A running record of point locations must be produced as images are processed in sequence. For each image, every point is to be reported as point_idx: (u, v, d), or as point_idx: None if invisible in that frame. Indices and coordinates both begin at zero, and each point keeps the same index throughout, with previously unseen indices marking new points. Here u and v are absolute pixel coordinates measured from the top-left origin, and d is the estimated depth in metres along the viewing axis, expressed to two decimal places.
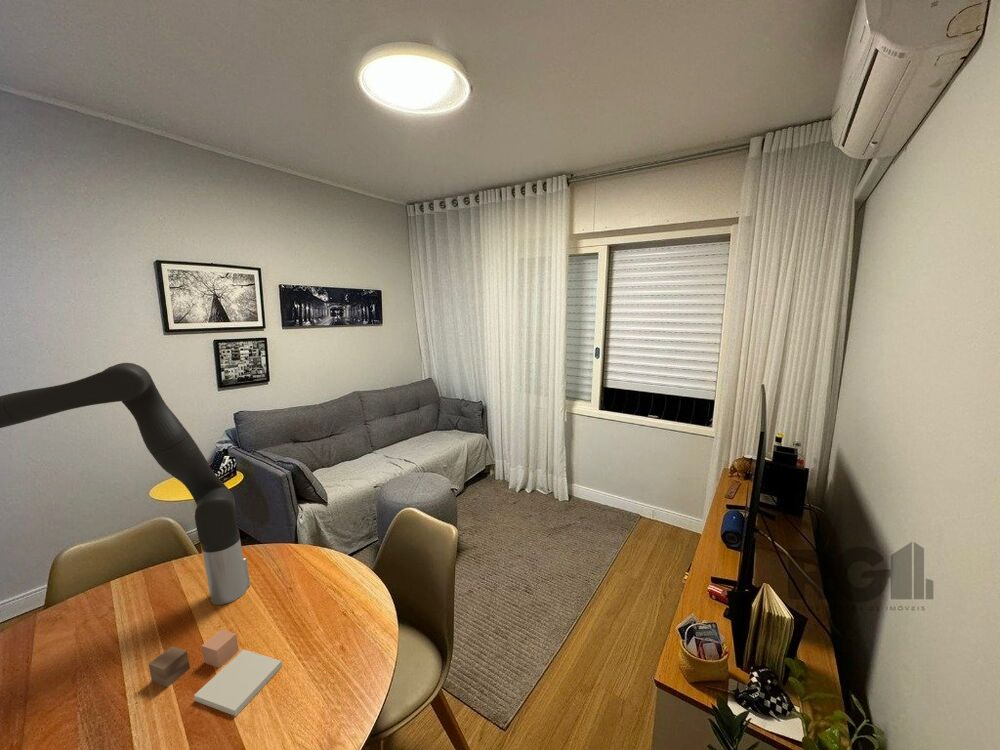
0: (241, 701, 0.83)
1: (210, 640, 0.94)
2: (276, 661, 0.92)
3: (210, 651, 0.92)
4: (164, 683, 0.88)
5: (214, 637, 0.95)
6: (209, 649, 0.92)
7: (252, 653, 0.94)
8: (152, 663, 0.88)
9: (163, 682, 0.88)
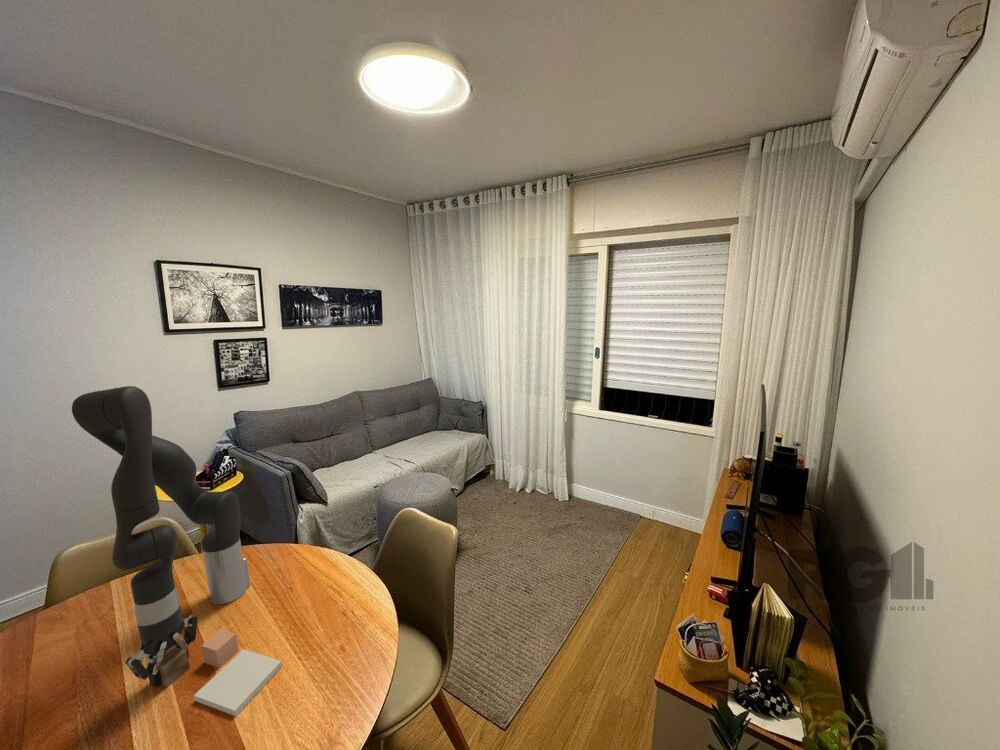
0: (241, 701, 0.83)
1: (210, 640, 0.94)
2: (276, 661, 0.92)
3: (210, 651, 0.92)
4: (163, 683, 0.88)
5: (214, 637, 0.95)
6: (209, 649, 0.92)
7: (252, 653, 0.94)
8: None
9: (163, 682, 0.88)
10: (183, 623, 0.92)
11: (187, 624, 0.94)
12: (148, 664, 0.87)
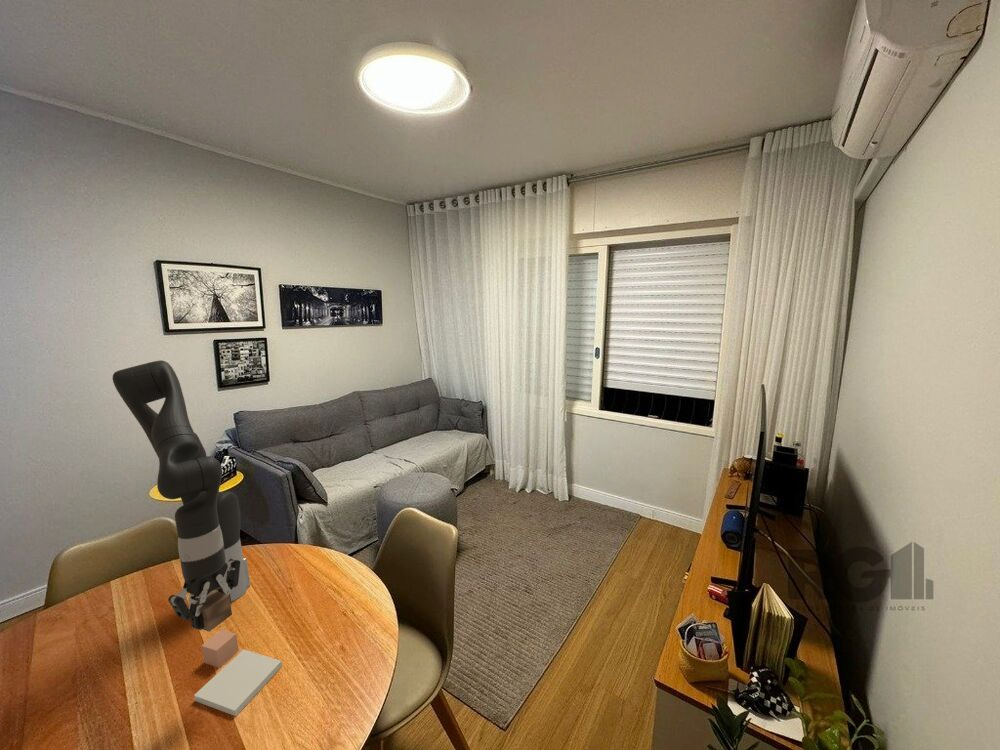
0: (241, 701, 0.83)
1: (210, 640, 0.94)
2: (276, 661, 0.92)
3: (210, 651, 0.92)
4: (206, 626, 0.82)
5: (214, 637, 0.95)
6: (209, 649, 0.92)
7: (252, 653, 0.94)
8: None
9: (205, 625, 0.82)
10: (226, 565, 0.86)
11: (230, 568, 0.88)
12: (190, 605, 0.81)
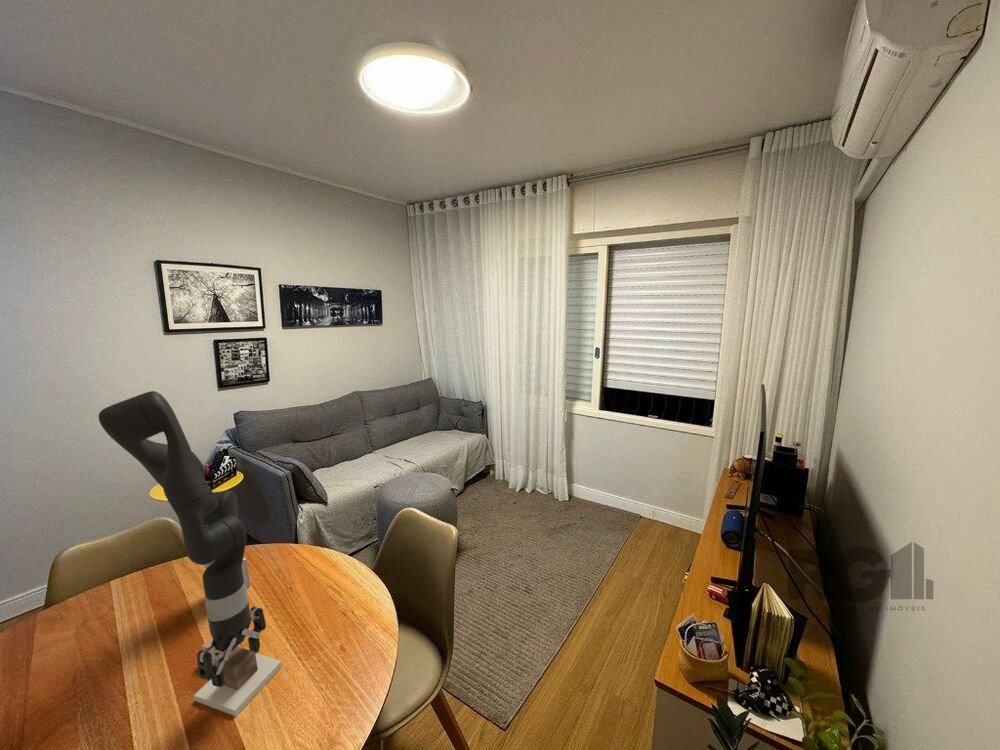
0: (241, 701, 0.83)
1: (210, 640, 0.94)
2: (276, 661, 0.92)
3: None
4: (234, 685, 0.85)
5: None
6: None
7: None
8: None
9: (233, 684, 0.85)
10: (250, 618, 0.89)
11: (254, 617, 0.91)
12: (213, 662, 0.83)
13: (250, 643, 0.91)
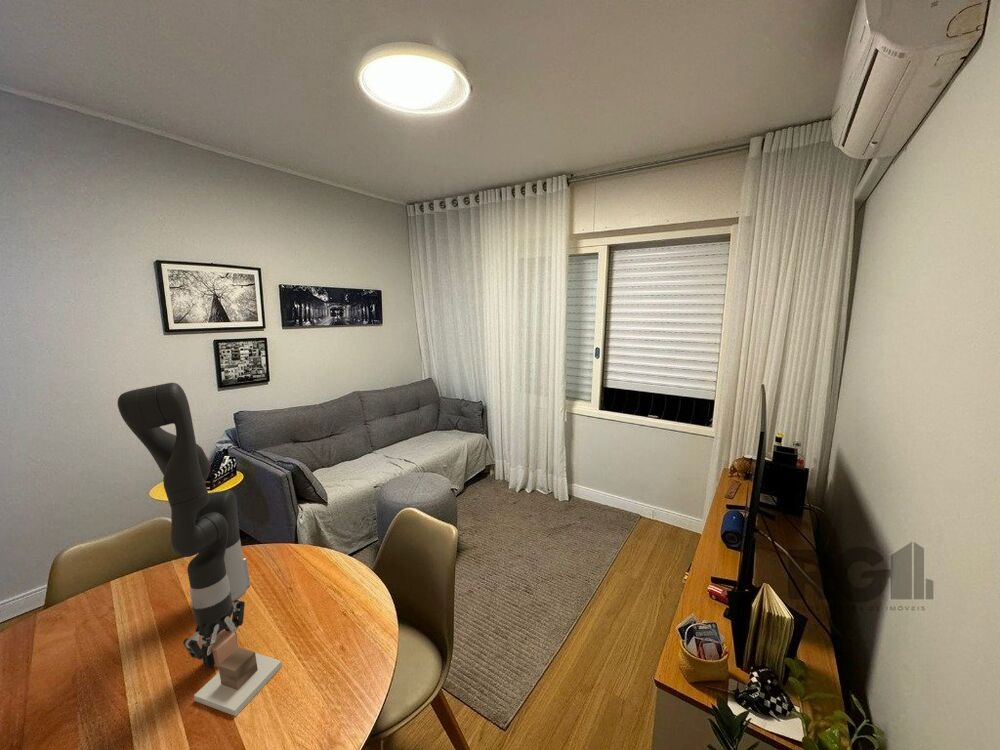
0: (241, 701, 0.83)
1: None
2: (276, 661, 0.92)
3: None
4: (234, 685, 0.85)
5: None
6: None
7: None
8: (222, 664, 0.86)
9: (233, 684, 0.85)
10: (232, 607, 0.97)
11: (235, 609, 0.98)
12: (202, 645, 0.91)
13: None
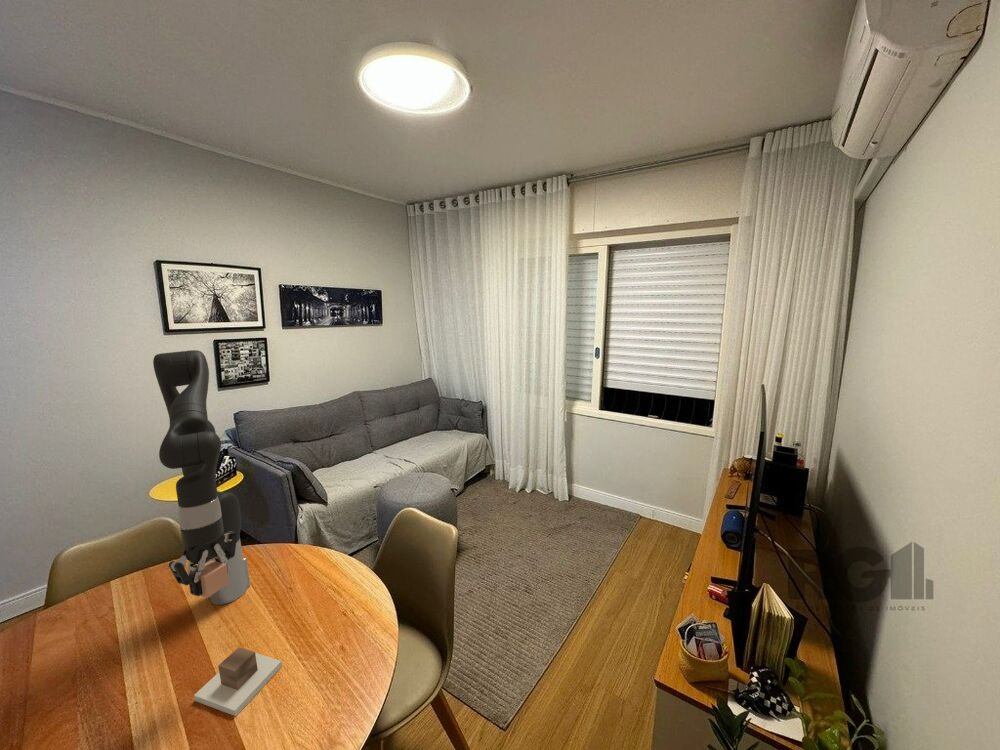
0: (241, 701, 0.83)
1: None
2: (276, 661, 0.92)
3: None
4: (234, 685, 0.85)
5: None
6: None
7: None
8: (222, 664, 0.86)
9: (233, 684, 0.85)
10: (224, 536, 0.91)
11: (227, 539, 0.92)
12: (189, 572, 0.85)
13: None
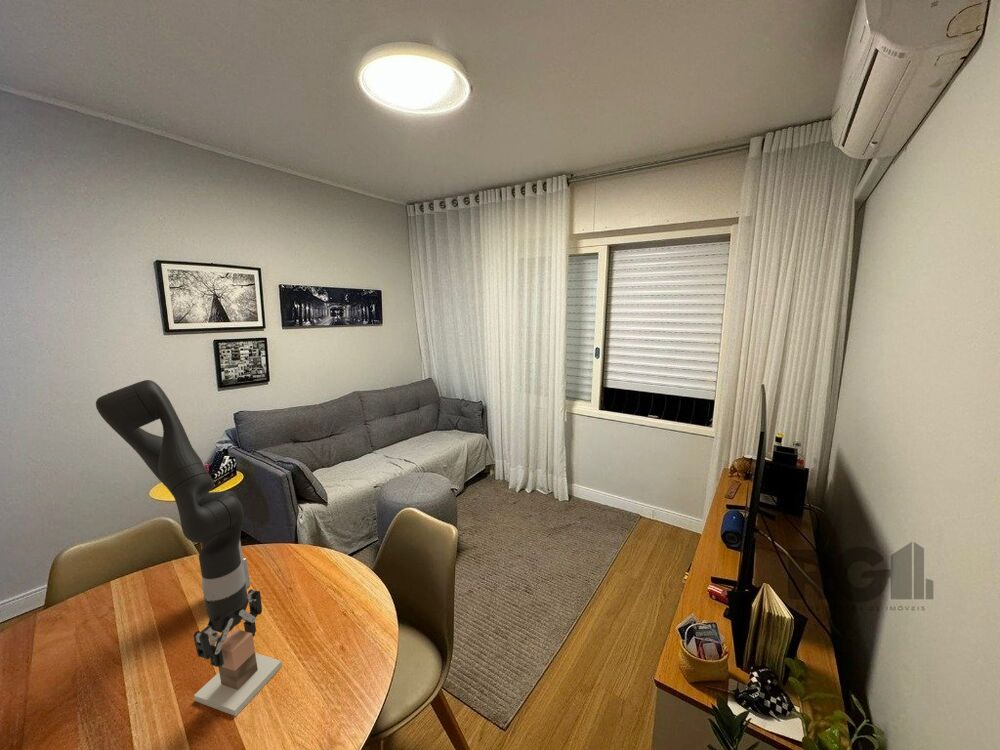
0: (241, 701, 0.83)
1: None
2: (276, 661, 0.92)
3: (225, 652, 0.84)
4: (234, 685, 0.85)
5: (228, 637, 0.87)
6: (223, 650, 0.84)
7: None
8: None
9: (233, 684, 0.85)
10: (247, 600, 0.88)
11: (251, 599, 0.90)
12: (211, 642, 0.82)
13: (246, 627, 0.90)
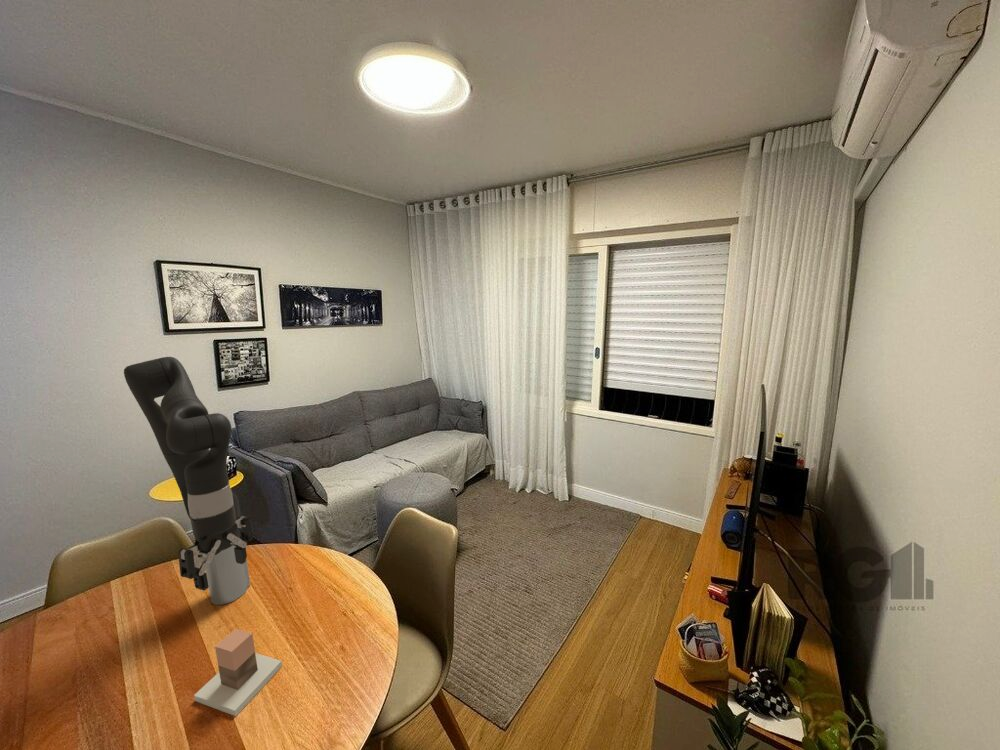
0: (241, 701, 0.83)
1: (224, 640, 0.86)
2: (276, 661, 0.92)
3: (225, 652, 0.84)
4: (234, 685, 0.85)
5: (228, 637, 0.87)
6: (223, 650, 0.84)
7: None
8: None
9: (233, 684, 0.85)
10: (235, 525, 0.85)
11: (240, 525, 0.87)
12: (195, 564, 0.79)
13: (236, 553, 0.87)
